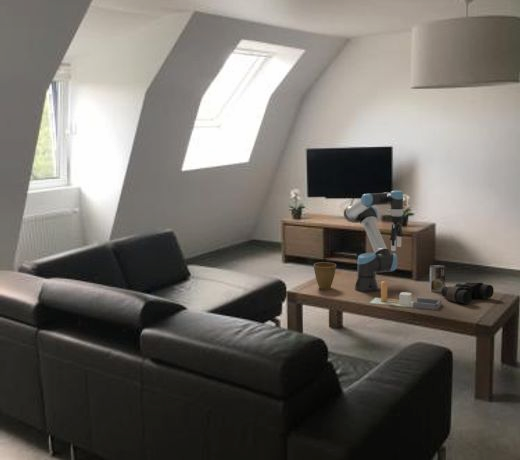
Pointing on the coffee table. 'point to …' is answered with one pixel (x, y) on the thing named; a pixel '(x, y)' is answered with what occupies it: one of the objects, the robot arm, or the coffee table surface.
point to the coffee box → (437, 278)
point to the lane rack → (413, 303)
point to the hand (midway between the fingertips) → (396, 248)
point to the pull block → (403, 299)
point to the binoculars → (467, 292)
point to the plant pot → (324, 274)
